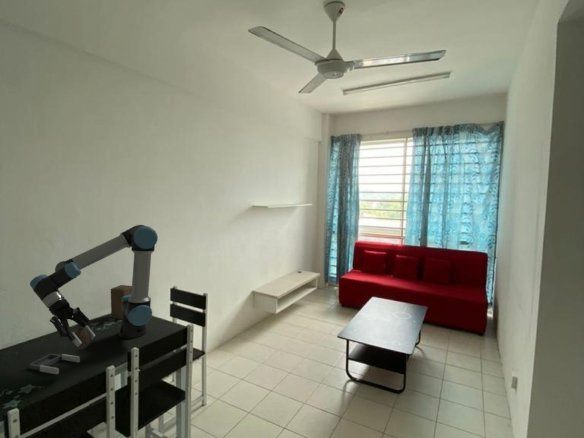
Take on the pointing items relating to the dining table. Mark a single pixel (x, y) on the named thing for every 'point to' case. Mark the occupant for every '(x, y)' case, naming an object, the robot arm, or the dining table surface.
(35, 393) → the dining table surface
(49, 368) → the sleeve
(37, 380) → the dining table surface
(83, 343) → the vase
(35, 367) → the grey flat frame
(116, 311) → the block
